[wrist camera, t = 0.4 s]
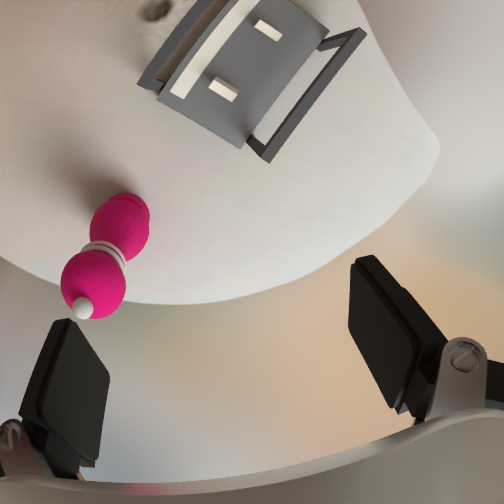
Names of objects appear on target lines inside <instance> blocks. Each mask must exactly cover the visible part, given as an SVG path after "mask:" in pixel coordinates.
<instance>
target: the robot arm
mask: <svg viewBox="0 0 504 504" xmlns="http://www.w3.org/2000/svg"><path fill="white" fill-rule="evenodd" d="M349 298H350V299H349V316H348V317H349V318H348V328H349V331H350V334H351V336H352V338H353V339H354V341H355V343H356V345H357V347H358V349H359V351H360V352H361V354H362V356H363V358H364V360H365V362H366V364H367V365H368V368H369V369H370V371H371V373H372V375H373V377H374V379H375V381H376V383H377V384H378V387H379V389H380V391H381V393H382V394H383V396H384V398H385V400H386V402H387V404H388V406H389V407H390V408H395V410H396V412H397V414H398V415H399V414H401V413H404V412H406V411H408V410H409V412H410V413H411V415H412V417H414V419H413V422H412V425H411V427H410V428H407V429H404V430H402V431H399V432H397V433H394V434H392V435H389V436H387V437H384V438H381V439H379V440H376V441H373V442H370V443H368V444H364V445H361V446H358V447H355V448H352V449H350V450H346V451H343V452H340V453H337V454H333V455H330V456H327V457H323V458H320V459H316V460H313V461H308V462H305V463H301V464H296V465H293V466H288V467H284V468H279V469H274V470H269V471H264V472H258V473H253V474H247V475H240V476H234V477H226V478H219V479H211V480H199V481H187V482H171V483H112V482H96V481H85V479H84V477H83V476H82V474H81V473H80V471H79V466H82V467H93V468H95V460H97V459H98V456H99V448H100V441H101V433H102V425H103V419H104V412H105V406H106V400H107V394H108V388H109V383H110V376H109V372H108V370H107V369H106V368H105V366H104V365H103V363H102V362H101V360H100V359H99V357H98V356H97V354H96V353H95V351H94V350H93V348H92V347H91V345H90V344H89V342H88V341H87V339H86V338H85V336H84V335H83V333H82V331H81V330H80V328H79V327H78V325H77V323H76V322H73V321H72V320H71V319H69V318H66V319H60V320H56V321H54V322H53V324H52V326H51V329H50V331H49V333H48V336H47V338H46V340H45V342H44V345H43V347H42V350H41V352H40V354H39V357H38V359H37V362H36V365H35V367H34V370H33V372H32V375H31V378H30V381H29V383H28V387H27V389H26V392H25V395H24V398H23V401H22V404H21V407H20V410H19V413H18V414H19V415H20V416H21V417H22V418H23V419H22V422H20V421H19V420H18V419H9V420H7V421H5V422H4V423H3V424H2V425H1V426H0V504H504V363H500V362H496V361H492V360H488V359H487V354H486V352H485V350H484V348H483V347H482V346H481V345H480V344H479V343H478V342H476V341H475V340H473V339H470V338H467V337H458V338H454V339H452V340H450V341H448V340H447V339H446V337H445V336H444V335H443V334H442V332H441V331H440V330H439V329H438V327H437V326H436V325H435V323H434V322H433V321H432V320H431V319H430V317H429V316H428V315H427V314H426V312H425V311H424V310H423V309H422V307H421V306H420V305H419V304H418V302H417V301H416V300H415V299H414V298H413V297H412V295H411V294H410V293H409V292H408V291H407V290H406V289H405V288H403V287H401V286H400V284H399V283H398V282H397V281H396V280H395V279H394V277H393V276H392V275H391V274H390V273H389V272H388V270H387V269H386V268H385V267H384V266H383V265H382V264H381V263H380V261H379V260H378V259H377V258H376V257H375V256H374V255H368V256H364V257H360V258H357V259H356V260H355V263H354V264H352V265H351V270H350V297H349Z"/></svg>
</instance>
